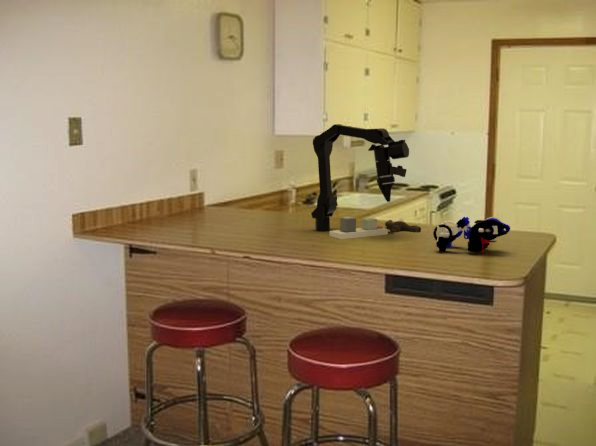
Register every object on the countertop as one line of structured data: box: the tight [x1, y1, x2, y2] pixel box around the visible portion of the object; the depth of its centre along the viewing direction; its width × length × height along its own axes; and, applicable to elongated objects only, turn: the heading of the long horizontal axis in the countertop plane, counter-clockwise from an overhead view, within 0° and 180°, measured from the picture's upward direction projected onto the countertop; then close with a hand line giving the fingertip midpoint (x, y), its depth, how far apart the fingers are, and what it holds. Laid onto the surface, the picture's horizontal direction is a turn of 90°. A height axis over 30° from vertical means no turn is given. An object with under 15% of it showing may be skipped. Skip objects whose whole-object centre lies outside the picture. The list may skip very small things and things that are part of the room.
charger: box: [339, 216, 357, 233], centre depth 267 cm, size 4×4×7 cm
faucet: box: [384, 219, 422, 235], centre depth 279 cm, size 5×17×15 cm
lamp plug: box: [361, 217, 378, 231], centre depth 272 cm, size 4×4×6 cm
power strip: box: [329, 225, 389, 240], centre depth 270 cm, size 22×8×4 cm, turn 118°
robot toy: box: [432, 216, 511, 253], centre depth 241 cm, size 16×12×25 cm
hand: (388, 201), depth 265 cm, fingers open, 9 cm apart
